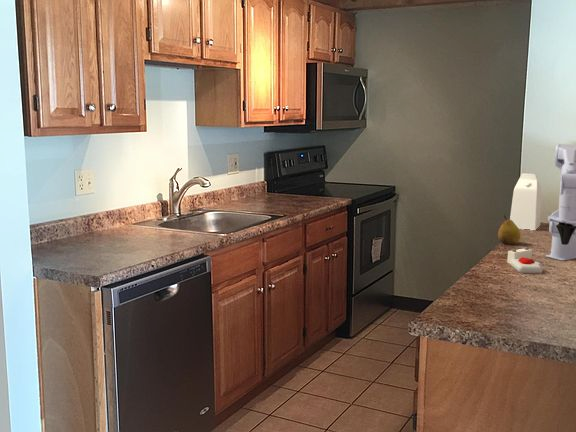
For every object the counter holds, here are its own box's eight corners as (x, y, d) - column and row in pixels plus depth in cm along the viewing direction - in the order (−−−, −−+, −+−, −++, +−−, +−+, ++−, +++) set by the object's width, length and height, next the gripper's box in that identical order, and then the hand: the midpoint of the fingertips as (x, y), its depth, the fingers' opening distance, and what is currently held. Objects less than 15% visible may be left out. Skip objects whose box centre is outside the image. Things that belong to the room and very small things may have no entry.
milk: (539, 226, 311) (544, 173, 307) (534, 230, 302) (539, 175, 297) (514, 224, 318) (518, 171, 313) (508, 227, 308) (512, 173, 303)
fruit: (524, 244, 272) (526, 216, 270) (506, 246, 268) (508, 218, 266) (510, 240, 280) (512, 213, 277) (493, 242, 276) (495, 214, 274)
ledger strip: (525, 259, 246) (526, 246, 245) (531, 261, 243) (532, 247, 242) (507, 262, 241) (508, 249, 240) (513, 264, 238) (514, 250, 237)
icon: (549, 263, 225) (520, 262, 226) (547, 274, 226) (519, 274, 226) (537, 254, 237) (509, 254, 238) (536, 266, 238) (508, 265, 238)
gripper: (543, 204, 232) (540, 241, 234) (579, 210, 220) (575, 249, 222) (556, 203, 235) (553, 239, 238) (592, 209, 223) (588, 247, 226)
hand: (564, 244), depth 230 cm, fingers closed
